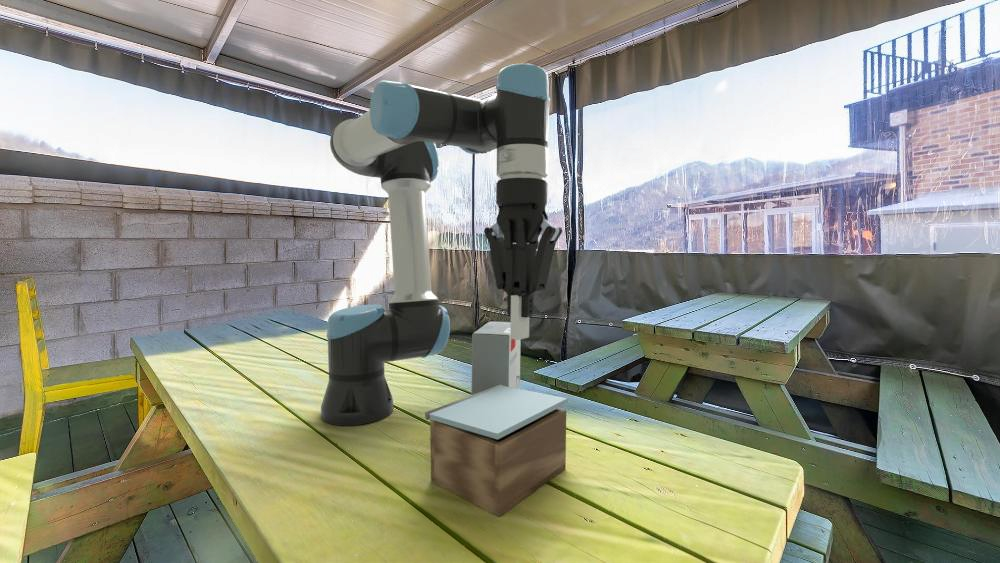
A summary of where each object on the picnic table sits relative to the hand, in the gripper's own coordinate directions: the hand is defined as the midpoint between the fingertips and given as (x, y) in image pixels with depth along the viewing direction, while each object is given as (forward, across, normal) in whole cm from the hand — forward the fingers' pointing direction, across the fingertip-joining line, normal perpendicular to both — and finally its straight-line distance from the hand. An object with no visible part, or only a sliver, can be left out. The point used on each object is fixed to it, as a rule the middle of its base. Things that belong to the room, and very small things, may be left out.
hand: (519, 337), depth 66 cm
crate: (+23, -4, 0) cm, 23 cm away
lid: (+13, -4, 0) cm, 13 cm away
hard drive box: (+23, -18, +17) cm, 34 cm away
